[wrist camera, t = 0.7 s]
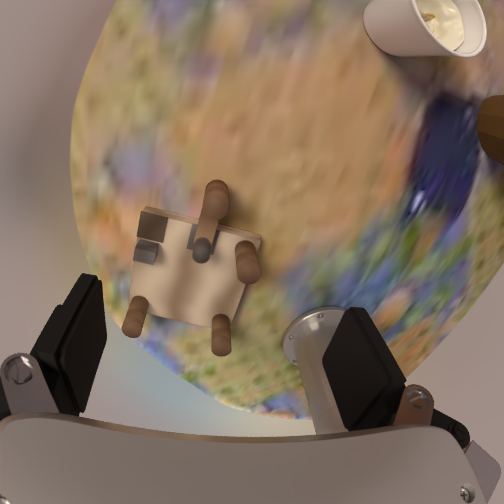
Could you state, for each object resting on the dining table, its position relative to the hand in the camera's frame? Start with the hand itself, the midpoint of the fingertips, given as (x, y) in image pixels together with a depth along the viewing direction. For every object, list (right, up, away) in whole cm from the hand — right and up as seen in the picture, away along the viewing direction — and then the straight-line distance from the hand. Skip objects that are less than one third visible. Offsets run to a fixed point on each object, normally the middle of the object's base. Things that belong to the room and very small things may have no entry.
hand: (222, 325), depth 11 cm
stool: (-7, 0, +28) cm, 28 cm away
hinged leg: (-4, +7, +22) cm, 23 cm away
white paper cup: (+18, +30, +15) cm, 38 cm away
